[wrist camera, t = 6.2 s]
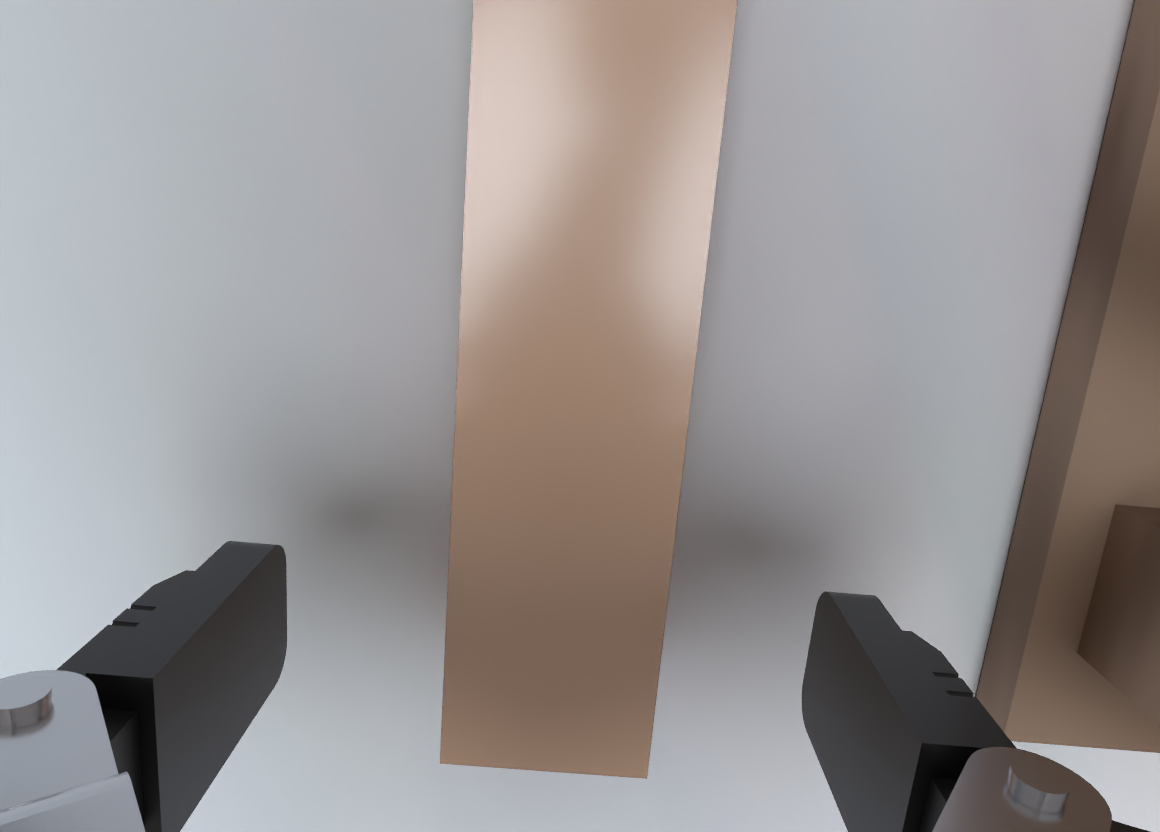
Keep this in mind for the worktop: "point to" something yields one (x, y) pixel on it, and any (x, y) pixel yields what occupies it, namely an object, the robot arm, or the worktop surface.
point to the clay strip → (576, 370)
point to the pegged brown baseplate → (1095, 465)
